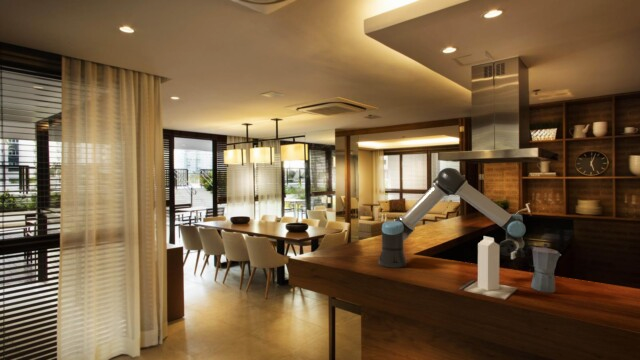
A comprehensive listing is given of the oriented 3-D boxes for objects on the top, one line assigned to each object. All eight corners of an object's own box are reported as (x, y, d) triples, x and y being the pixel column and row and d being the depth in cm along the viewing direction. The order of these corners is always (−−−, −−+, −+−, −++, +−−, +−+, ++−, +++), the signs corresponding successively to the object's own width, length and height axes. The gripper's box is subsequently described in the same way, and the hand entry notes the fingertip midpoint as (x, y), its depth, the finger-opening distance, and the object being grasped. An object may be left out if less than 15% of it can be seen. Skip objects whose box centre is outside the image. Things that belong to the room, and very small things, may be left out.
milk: (487, 290, 147) (488, 238, 146) (477, 286, 152) (477, 236, 152) (499, 289, 148) (499, 237, 148) (488, 285, 154) (489, 235, 154)
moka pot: (554, 296, 142) (554, 247, 142) (517, 286, 155) (518, 241, 155) (567, 293, 146) (567, 245, 146) (530, 283, 160) (531, 239, 160)
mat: (457, 289, 150) (457, 287, 150) (472, 280, 163) (472, 279, 163) (505, 299, 138) (505, 298, 138) (517, 289, 151) (517, 287, 151)
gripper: (537, 258, 164) (526, 266, 149) (482, 251, 181) (467, 257, 166) (537, 242, 164) (526, 249, 149) (482, 236, 181) (467, 241, 166)
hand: (495, 253), depth 157 cm, fingers open, 13 cm apart
